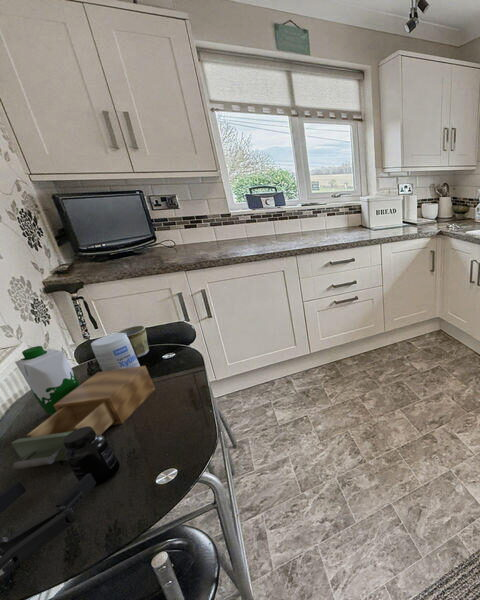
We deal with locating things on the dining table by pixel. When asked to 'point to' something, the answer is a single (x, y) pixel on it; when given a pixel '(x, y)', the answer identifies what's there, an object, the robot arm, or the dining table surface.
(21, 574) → the dining table surface
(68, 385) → the milk carton
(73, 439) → the supplement bottle
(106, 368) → the supplement tub
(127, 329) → the ceramic cup
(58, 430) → the drawer
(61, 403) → the cabinet
